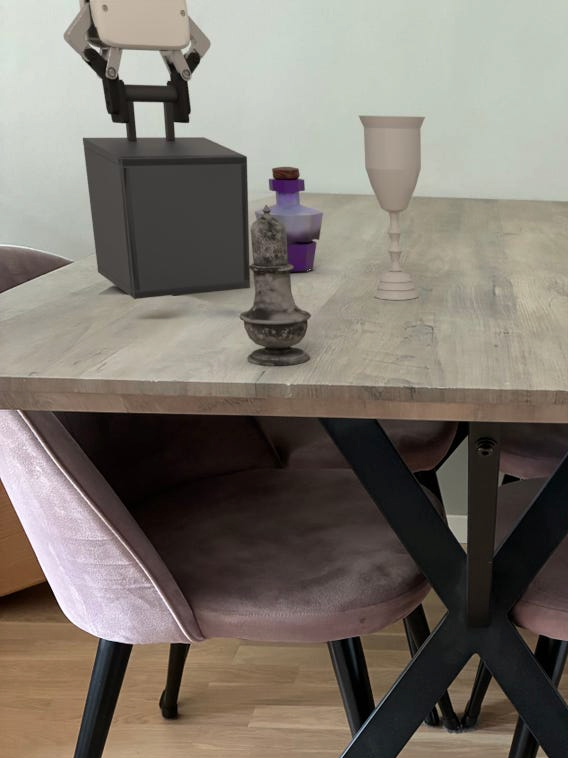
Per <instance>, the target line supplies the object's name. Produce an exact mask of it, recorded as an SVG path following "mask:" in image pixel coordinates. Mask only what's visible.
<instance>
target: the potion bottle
mask: <svg viewBox="0 0 568 758" xmlns="http://www.w3.org/2000/svg"><path fill="white" fill-rule="evenodd" d="M271 173H272V178H268V188H269V189H268V190H269V191H272V192H275V202H276V204H273V205H269V206H268V207H269V210H271V211H270V216H273V218H274V219H277V220H279V221H280V222H282V223H283V225H284V226H285V229H286V238H287V252H288V263H289V264H291V265H292V266H293V269H291V271H290V274H299V273H301V274H302V273H307V272H306V271H307V270H309V269H314V263H315V256H316V250H317V241H315V240H318V241H319V240H320V236H321V230H322V223H323V222H322V221H323V215H324V212H322V211H319V210H317V209H314V208H311V207H308V206H305V205H302V204H301V201H300V200H301V199H300V192H305V191H306V186H305V179H303V178H300V176H301V173H300V170H299V168H297V167H295V166H294V167H293V166H278V167H273V168H271ZM262 210H264V207H263V208H261V209H258V210H254V215H255V219H256V220H258V219H261V217H262V216H264V212H263V211H262Z"/></svg>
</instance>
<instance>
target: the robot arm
mask: <svg viewBox="0 0 568 758" xmlns="http://www.w3.org/2000/svg"><path fill="white" fill-rule="evenodd" d="M78 3H79V11H78V13H77V14H76V16H75V17H74V19H72V21H71V23H70V24H69V25H68V27H67V28H66V30H65V31H64V32H63V40H64V41H65V42H66V43H67V44H68V45H69V46H70V47H71V48H72V49H73V51H75V52H76V53H77V54H78V55H79V56H80V57H81V59H82V60H83V61H84V62H85V63H86V65H88V66H89V68H90V69H92V70H93V72H94V73H95V74H96V77H97V78H99V79H100V80H101V83H102V89H103V95H104V102H105V109H106V112H107V114H108V115H110V117H111V122H112V123H114V124H126V123H128V122H129V121H130V118H129V112H128V105H127V98H126V91H125V84H126V83H125V82H124V80H123V79H120V75H119V70H120V65H121V60H122V55H123V52H124V51H123V50H127V51H150V52H151V51H153V52H158V53H159V55H160V56H161V58H162V61H163V63H164V65H165V67H166V69H167V72H168V74H169V80H167V82H166V86H174V87H175V88H176V90H177V102H175V103H173V114H174V123H177V124H189V123H190V115H191V113H192V107H191V99H190V98H191V97H190V91H189V81H191V79H192V78H193V77H192V76H193V74H194V72H195V71H196V69H197V68H198V67H199V64H200V63H201V60H202V59H203V58H204V56H205V55H206V54H207V52H208V50H209V49H210V48H211V44H212V43H211V40H210V39H209V38H208V36H206V34H205V33H204V32H203V31H202V29H201V28H200V27H199V26H198V25H197V24H196V22H195V21H194V20H193V19H192V18H191V17H190V15H189V12H188V5H187V0H78ZM92 46H93V47H95V48H98V49H99V52H98V51H97V50H96V49H95V48H93V47H92ZM189 46H190V47H189ZM186 48H188V50H187V51H186V52H185V53H184V54H183V51H182V50H185V49H186Z"/></svg>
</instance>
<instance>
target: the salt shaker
mask: <svg viewBox="0 0 568 758" xmlns="http://www.w3.org/2000/svg"><path fill="white" fill-rule="evenodd" d="M263 208H264V210H262V211H263V212H264V216H262V217H261V219H258V220H257V219H256V220H255V221H253V222H252V224H251V225H250V239H251V249H252V261H253V263H251V264H249V268H250V270H251V272H253V281H254V282H253V283H254V298H253V303H252V306H251V307H250V309H248V310H246V311H243V312H241V313H240V314H239V315H238V316H239V319H240V320H241V321H242V322H243V326H244V330H245V332H246V333H247V336H248V338H249V340H251V341H252V342H253V343H254V344H255V345H257V346H260V347H262V348H258V349H255V350H253V351H252V352H251V353H249V354H248V355H247V357H246V359H247V361H248V362H249V363H251V364H255V365H259V366H270V367H272V366H273V367H275V366H277V367H279V366H280V367H282V366H283V367H284V366H291V365H292V366H293V365H299V364H302V363H303V364H304V363H306V362H308V361H309V360H311V355H310V354H309V353H308V352H306V351H305V350H303V349H301V348H299V347H294V346H295V345H298V344H300V342H301V341H303V339H304V338H305V336H306V334H307V329H308V327H309V325H308V320H310V319H311V317H312V314H311V313H310V312H309V311H306V310H304V309H301V308H300V307H299V306H298V305H296V302H295V299H294V296H293V293H292V281H291V273H290V271H291V269H293V266H292V265H291V264H289V263H288V252H287V238H286V229H285V226H284V225H283V223H282V222H280V221H279V220H277V219H274V218H273V216H270V211H271V210H269V206H268V205H267V204H265V205H264V206H263Z"/></svg>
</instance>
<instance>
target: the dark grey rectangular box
mask: <svg viewBox="0 0 568 758" xmlns="http://www.w3.org/2000/svg"><path fill="white" fill-rule="evenodd" d="M124 84H125V91H126V98H127V105H128V112H129V118H130V121H129V122H128V123H125V128H126V129H125V131H126V137H82V145H83V153H84V162H85V169H86V170H85V171H86V178H87V180H86V181H87V186H88V196H89V205H90V214H91V222H92V230H93V231H92V232H93V240H94V241H93V242H94V249H95V257H96V265H97V266H96V267H97V273H98V274H99V275H101V276H102V277H104V278H105V279H107V280H108V281H109V282H110V283H112V284H113V285H115V286H116V287H118V288H119V289H120V290H122V291H123V292H125V293H126V294H127V295H128V296H130V297H131V298H132V299H134V300H138V299H139V300H140V299H148V298H149V299H150V298H158V297H169V296H176V295H178V296H179V295H187V294H198V293H207V292H219V291H227V290H236V289H247V288H251V275H250V273H251V271H250V270H251V269H250V268H249V266H250V233H249V232H250V229H249V227H250V225H249V188H248V187H249V185H248V157H247V156H246V155H244V154H242V153H241V152H237V151H235V150H233V149H231V148H229V147H226V146H224V145H222V144H219V143H218V142H216V141H213V140H211V139H209V138H206V137H204V136H203V137H202V136H201V137H195V136H193V137H192V136H191V137H190V136H189V137H186V136H185V137H184V136H183V137H182V136H181V137H176V132H175V130H176V129H175V122H174V114H173V103H175V102H177V90H176V88H175V87H174V86H167V85H162V84H161V85H160V84H126V83H124ZM135 103H163V118H164V132H165V133H164V134H165V137H137V126H136V125H137V124H136V116H135V115H136V114H135Z"/></svg>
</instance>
